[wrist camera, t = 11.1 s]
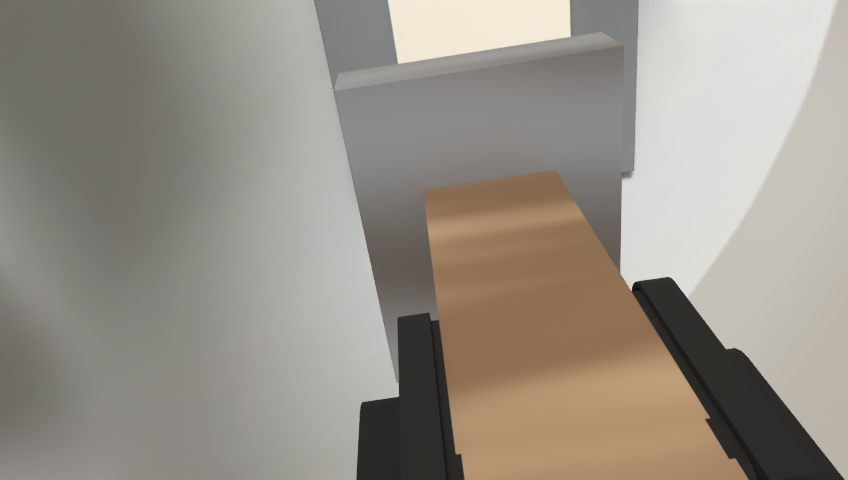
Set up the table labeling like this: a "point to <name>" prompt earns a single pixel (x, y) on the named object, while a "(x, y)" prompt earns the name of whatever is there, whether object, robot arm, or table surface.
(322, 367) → the table surface
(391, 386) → the table surface
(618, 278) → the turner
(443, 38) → the tile
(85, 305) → the table surface
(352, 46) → the mat
